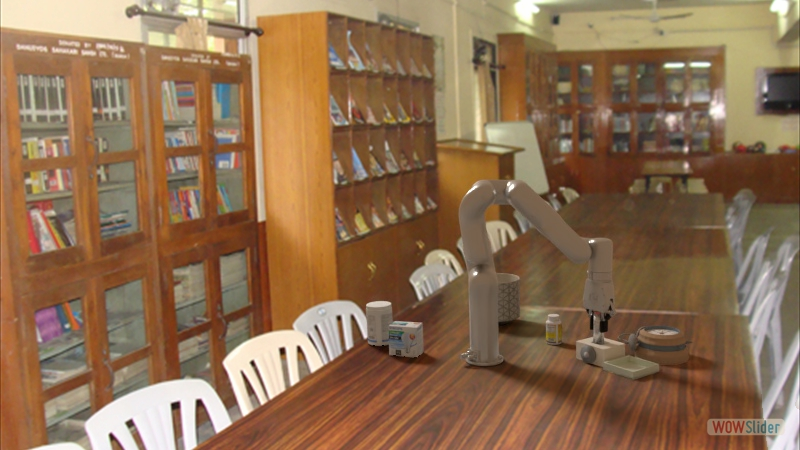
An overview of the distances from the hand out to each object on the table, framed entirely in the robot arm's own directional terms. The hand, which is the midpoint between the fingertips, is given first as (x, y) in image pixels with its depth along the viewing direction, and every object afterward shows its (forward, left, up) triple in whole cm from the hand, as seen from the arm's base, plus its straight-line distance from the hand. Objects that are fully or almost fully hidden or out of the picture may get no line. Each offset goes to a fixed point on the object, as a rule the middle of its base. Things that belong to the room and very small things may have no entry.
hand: (598, 330), depth 256 cm
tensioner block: (0, 0, -10) cm, 10 cm away
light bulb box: (-46, +46, -10) cm, 66 cm away
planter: (+4, +57, -10) cm, 58 cm away
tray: (-1, -14, -10) cm, 17 cm away
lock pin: (0, 0, -4) cm, 4 cm away
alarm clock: (+17, -8, -11) cm, 22 cm away
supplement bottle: (+2, +23, -10) cm, 25 cm away
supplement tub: (-46, +63, -10) cm, 79 cm away
